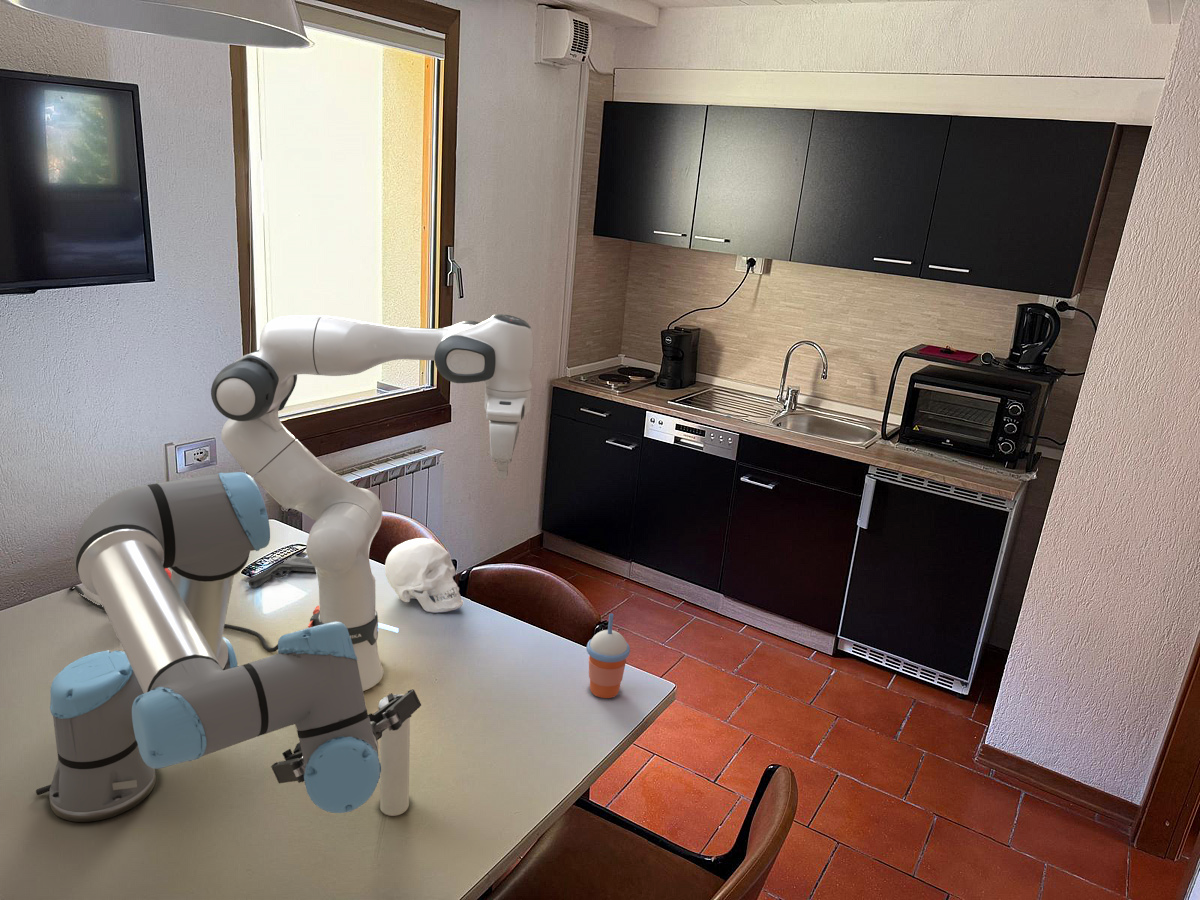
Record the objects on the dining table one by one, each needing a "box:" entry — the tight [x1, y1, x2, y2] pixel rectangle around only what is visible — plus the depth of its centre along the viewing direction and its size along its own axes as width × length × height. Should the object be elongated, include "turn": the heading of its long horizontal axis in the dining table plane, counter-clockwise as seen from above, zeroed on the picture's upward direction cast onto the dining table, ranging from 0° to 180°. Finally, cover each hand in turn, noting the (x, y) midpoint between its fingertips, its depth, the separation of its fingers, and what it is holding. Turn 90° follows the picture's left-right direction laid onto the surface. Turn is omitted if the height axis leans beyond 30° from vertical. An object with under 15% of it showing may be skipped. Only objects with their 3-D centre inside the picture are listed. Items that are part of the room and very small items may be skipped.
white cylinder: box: [379, 717, 411, 817], centre depth 141 cm, size 5×5×20 cm
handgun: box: [248, 554, 316, 588], centre depth 220 cm, size 2×18×12 cm
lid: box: [378, 693, 408, 719], centre depth 138 cm, size 5×5×2 cm
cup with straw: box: [586, 613, 631, 699], centre depth 179 cm, size 9×9×18 cm
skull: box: [384, 537, 465, 614], centre depth 211 cm, size 13×22×16 cm, turn 67°
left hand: (349, 726), depth 122 cm, fingers open, 13 cm apart
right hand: (504, 470), depth 166 cm, fingers open, 8 cm apart
